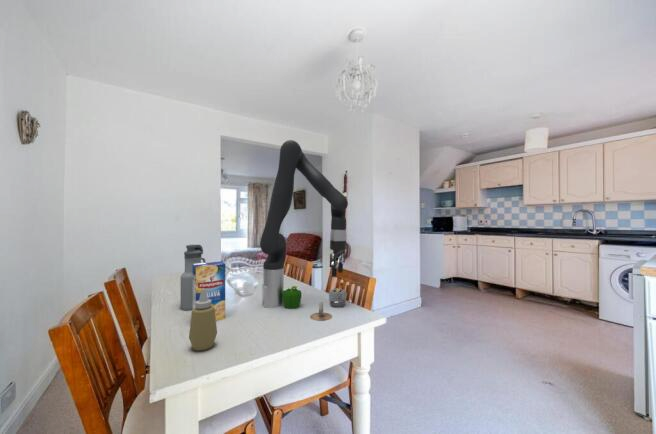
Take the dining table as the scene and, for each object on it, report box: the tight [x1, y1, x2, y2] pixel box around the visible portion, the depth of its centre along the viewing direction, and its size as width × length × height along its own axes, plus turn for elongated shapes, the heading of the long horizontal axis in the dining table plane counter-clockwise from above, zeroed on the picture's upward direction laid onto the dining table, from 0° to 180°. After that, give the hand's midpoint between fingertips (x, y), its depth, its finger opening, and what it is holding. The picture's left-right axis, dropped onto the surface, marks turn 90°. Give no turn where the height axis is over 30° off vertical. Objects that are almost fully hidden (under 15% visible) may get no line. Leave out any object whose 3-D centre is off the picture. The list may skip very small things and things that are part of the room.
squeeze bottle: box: [188, 289, 218, 352], centre depth 84 cm, size 8×8×18 cm
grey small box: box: [328, 288, 347, 302], centre depth 121 cm, size 6×6×4 cm
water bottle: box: [180, 244, 206, 311], centre depth 120 cm, size 10×10×28 cm
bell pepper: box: [282, 285, 302, 310], centre depth 119 cm, size 8×8×10 cm
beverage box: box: [191, 261, 226, 321], centre depth 106 cm, size 7×11×22 cm, turn 127°
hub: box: [329, 287, 346, 309], centre depth 121 cm, size 10×10×8 cm
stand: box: [309, 301, 333, 322], centre depth 108 cm, size 9×9×6 cm
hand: (337, 274), depth 122 cm, fingers open, 8 cm apart
